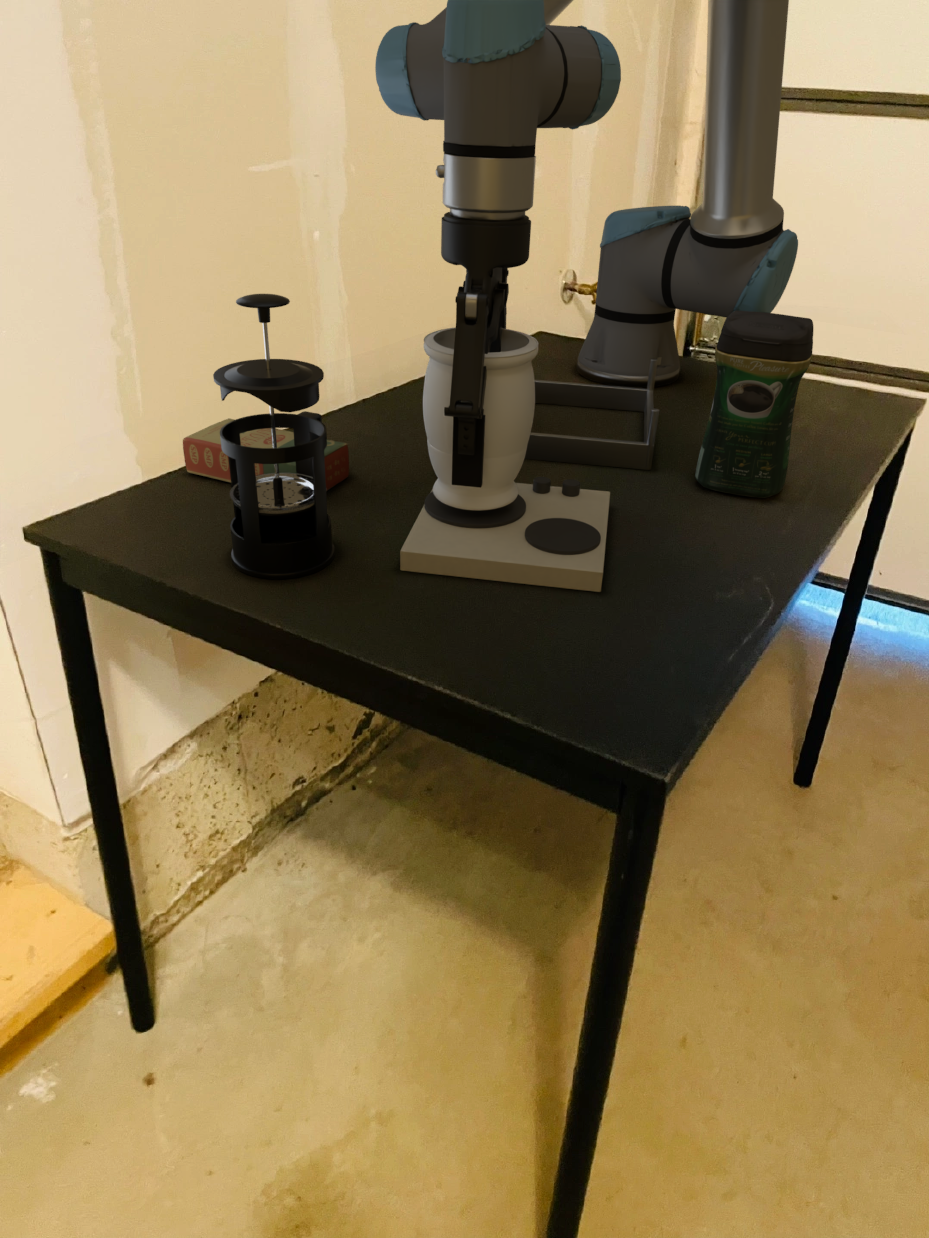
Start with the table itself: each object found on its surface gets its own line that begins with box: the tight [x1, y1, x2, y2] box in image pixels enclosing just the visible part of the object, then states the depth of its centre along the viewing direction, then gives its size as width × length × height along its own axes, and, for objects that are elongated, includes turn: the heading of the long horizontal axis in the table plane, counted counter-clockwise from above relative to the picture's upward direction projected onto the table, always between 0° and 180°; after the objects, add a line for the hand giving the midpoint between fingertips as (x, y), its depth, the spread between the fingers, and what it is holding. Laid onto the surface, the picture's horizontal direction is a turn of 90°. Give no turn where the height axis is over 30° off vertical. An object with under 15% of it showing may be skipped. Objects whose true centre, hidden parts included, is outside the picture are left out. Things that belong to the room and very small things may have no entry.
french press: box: [212, 293, 336, 580], centre depth 78 cm, size 12×9×23 cm
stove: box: [399, 476, 611, 593], centre depth 88 cm, size 18×18×3 cm
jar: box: [422, 326, 539, 510], centre depth 85 cm, size 11×10×15 cm
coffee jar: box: [694, 310, 814, 499], centre depth 97 cm, size 10×8×19 cm
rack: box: [524, 359, 660, 471], centre depth 113 cm, size 22×19×7 cm
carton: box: [182, 418, 350, 492], centre depth 99 cm, size 8×16×4 cm, turn 65°
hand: (476, 462), depth 87 cm, fingers closed on jar, 11 cm apart
